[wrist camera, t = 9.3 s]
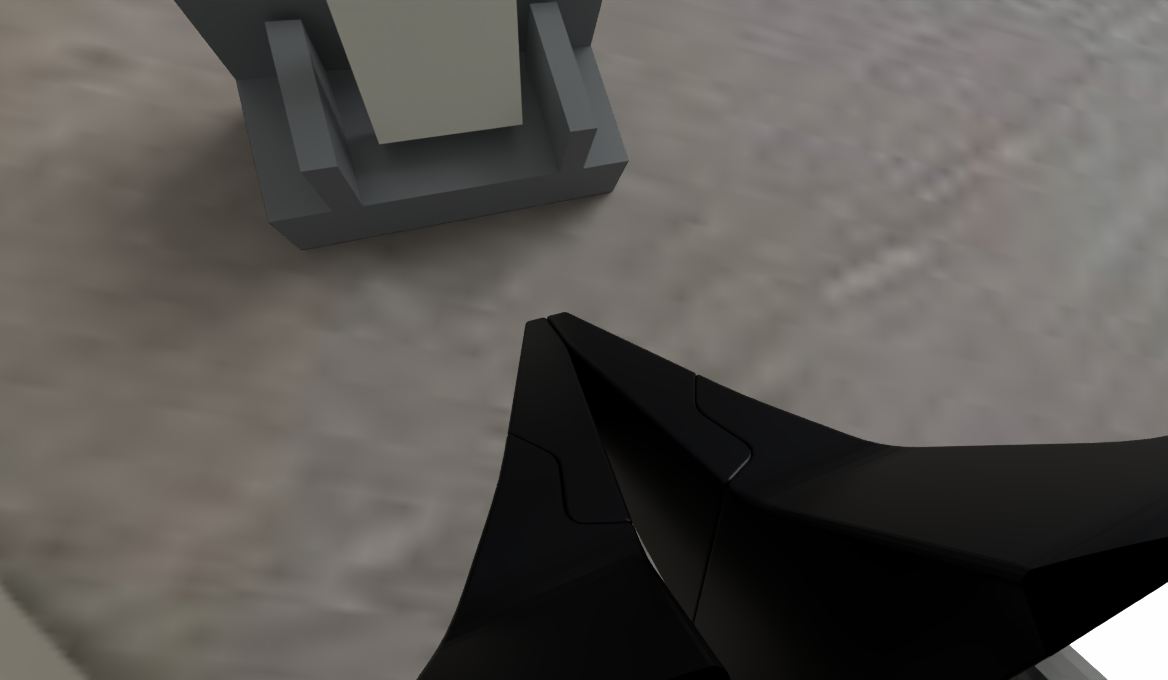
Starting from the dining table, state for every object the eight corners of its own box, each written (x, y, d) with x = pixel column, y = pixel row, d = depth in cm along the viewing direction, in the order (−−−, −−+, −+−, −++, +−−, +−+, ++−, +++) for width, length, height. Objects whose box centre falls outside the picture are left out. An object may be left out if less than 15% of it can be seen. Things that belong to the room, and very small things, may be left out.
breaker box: (612, 191, 24) (658, 103, 17) (301, 249, 20) (202, 166, 13) (571, 66, 25) (600, -66, 18) (265, 98, 21) (155, -53, 14)
